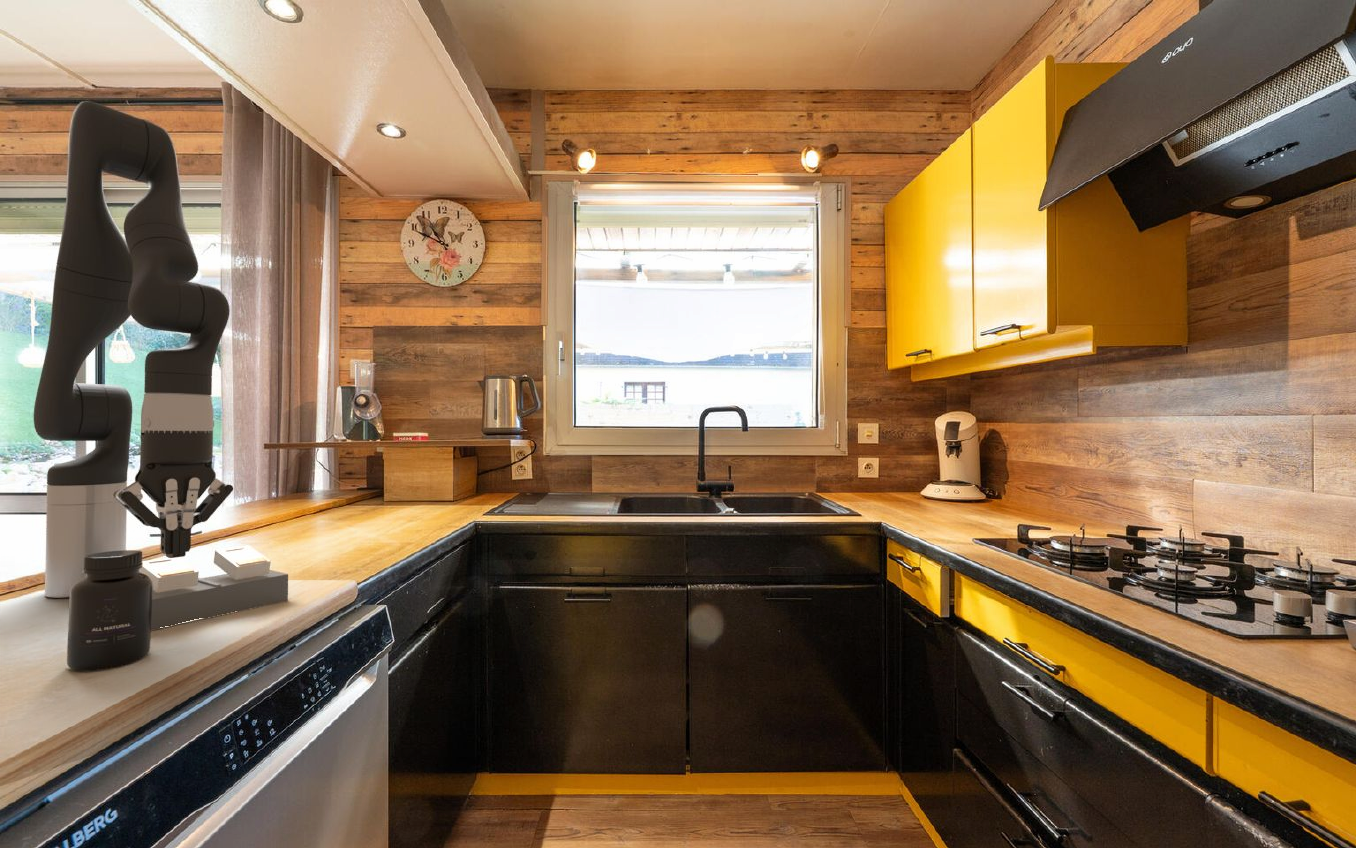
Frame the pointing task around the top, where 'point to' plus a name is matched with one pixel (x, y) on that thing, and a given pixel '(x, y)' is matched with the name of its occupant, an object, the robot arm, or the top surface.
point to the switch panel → (217, 597)
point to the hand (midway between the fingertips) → (175, 556)
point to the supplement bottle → (110, 612)
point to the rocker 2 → (242, 562)
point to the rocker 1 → (170, 574)
